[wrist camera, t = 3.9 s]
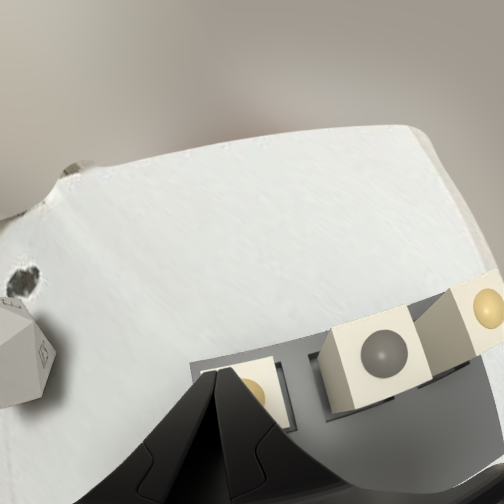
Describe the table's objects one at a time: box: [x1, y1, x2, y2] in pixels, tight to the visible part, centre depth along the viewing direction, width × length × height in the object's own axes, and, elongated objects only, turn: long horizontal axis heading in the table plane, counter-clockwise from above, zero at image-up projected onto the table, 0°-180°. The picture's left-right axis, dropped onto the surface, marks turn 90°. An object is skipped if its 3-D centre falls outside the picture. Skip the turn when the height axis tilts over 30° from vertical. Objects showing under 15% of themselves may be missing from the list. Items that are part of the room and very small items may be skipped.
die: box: [0, 297, 57, 409], centre depth 17 cm, size 8×9×10 cm
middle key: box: [317, 304, 433, 414], centre depth 13 cm, size 3×3×6 cm
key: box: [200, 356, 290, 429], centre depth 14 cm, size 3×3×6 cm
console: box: [190, 292, 504, 493], centre depth 15 cm, size 12×17×3 cm
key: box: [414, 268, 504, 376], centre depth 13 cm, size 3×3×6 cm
